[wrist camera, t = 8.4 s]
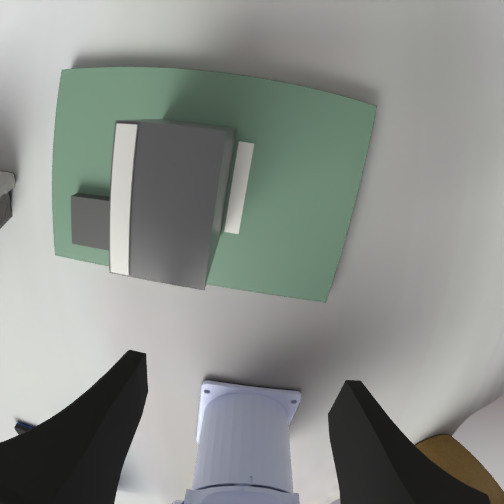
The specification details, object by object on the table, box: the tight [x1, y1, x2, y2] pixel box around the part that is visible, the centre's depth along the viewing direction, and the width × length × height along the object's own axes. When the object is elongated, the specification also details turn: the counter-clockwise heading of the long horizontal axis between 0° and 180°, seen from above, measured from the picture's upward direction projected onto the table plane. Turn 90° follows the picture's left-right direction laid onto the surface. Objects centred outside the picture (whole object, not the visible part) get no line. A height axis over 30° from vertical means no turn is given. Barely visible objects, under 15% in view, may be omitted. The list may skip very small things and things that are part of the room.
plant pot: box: [415, 434, 504, 504], centre depth 22 cm, size 15×15×16 cm
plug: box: [109, 119, 237, 290], centre depth 14 cm, size 6×4×6 cm, turn 170°
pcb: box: [52, 67, 377, 302], centre depth 16 cm, size 12×18×4 cm, turn 80°
